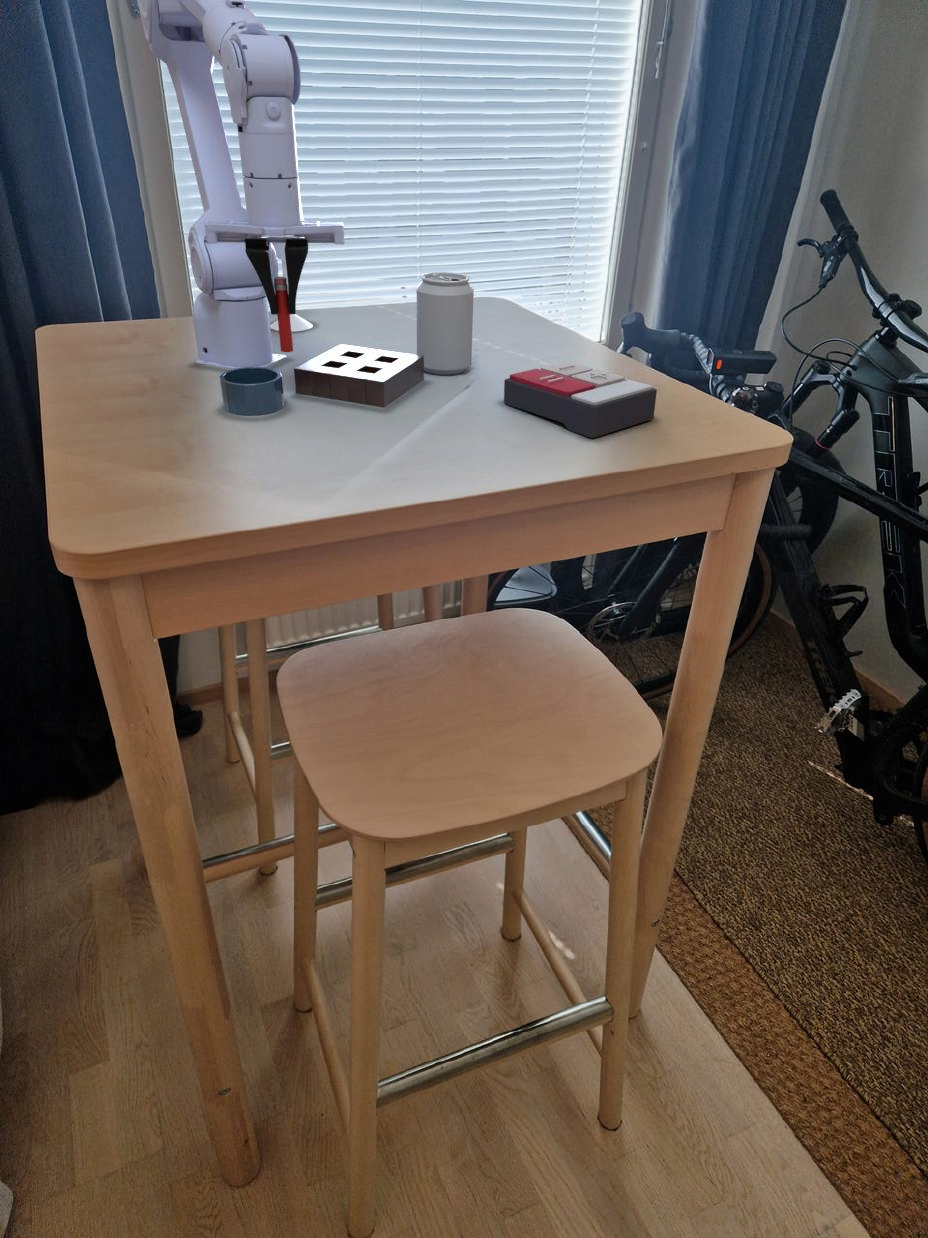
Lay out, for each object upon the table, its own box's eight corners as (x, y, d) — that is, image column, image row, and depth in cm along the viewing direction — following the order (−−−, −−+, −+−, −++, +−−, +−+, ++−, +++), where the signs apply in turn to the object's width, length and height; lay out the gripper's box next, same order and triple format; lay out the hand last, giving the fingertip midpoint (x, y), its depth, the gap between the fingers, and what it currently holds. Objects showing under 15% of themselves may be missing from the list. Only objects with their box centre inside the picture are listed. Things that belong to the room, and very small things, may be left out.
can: (465, 378, 106) (468, 282, 99) (410, 373, 107) (409, 278, 100) (475, 363, 112) (479, 271, 105) (424, 358, 113) (424, 267, 107)
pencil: (278, 351, 93) (271, 278, 88) (284, 348, 94) (278, 275, 90) (289, 353, 92) (282, 279, 88) (295, 349, 94) (289, 277, 89)
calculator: (566, 358, 102) (659, 382, 93) (564, 391, 105) (655, 418, 95) (502, 372, 97) (595, 400, 87) (502, 407, 99) (592, 438, 89)
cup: (212, 414, 92) (207, 379, 90) (246, 396, 98) (242, 363, 95) (263, 423, 90) (259, 388, 88) (295, 404, 96) (292, 371, 94)
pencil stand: (296, 396, 98) (293, 368, 96) (342, 370, 108) (340, 343, 106) (384, 411, 95) (383, 381, 93) (424, 382, 104) (424, 355, 102)
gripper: (194, 179, 79) (214, 321, 87) (341, 181, 81) (348, 320, 89) (202, 171, 85) (220, 306, 92) (340, 174, 87) (346, 305, 94)
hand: (283, 312), depth 91 cm, fingers closed on pencil, 1 cm apart
